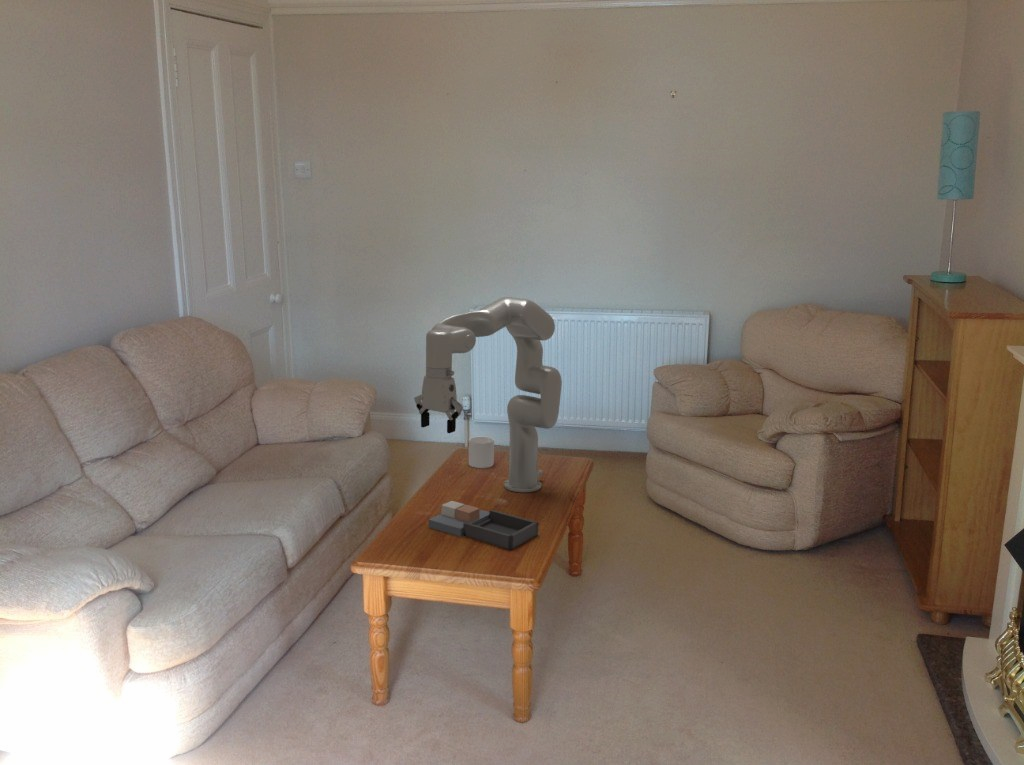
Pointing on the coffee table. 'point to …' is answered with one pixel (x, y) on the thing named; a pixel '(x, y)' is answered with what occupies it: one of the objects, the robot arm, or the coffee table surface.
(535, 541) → the coffee table surface
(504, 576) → the coffee table surface
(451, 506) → the tile
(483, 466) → the mug
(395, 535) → the coffee table surface
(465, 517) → the tile
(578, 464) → the coffee table surface
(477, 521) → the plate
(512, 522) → the box
